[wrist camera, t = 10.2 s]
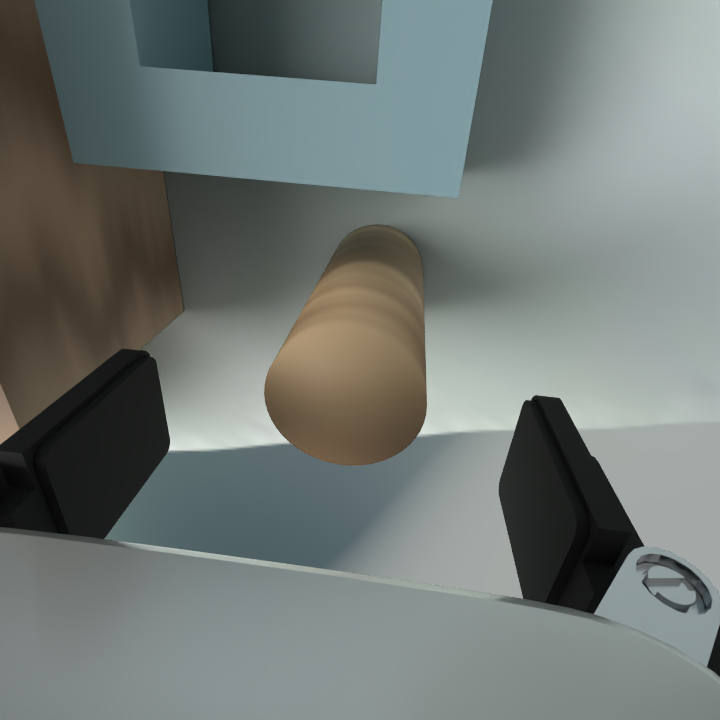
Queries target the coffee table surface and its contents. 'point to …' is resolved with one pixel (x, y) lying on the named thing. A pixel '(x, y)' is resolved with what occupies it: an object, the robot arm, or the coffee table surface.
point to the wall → (68, 241)
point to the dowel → (356, 355)
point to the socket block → (267, 98)
